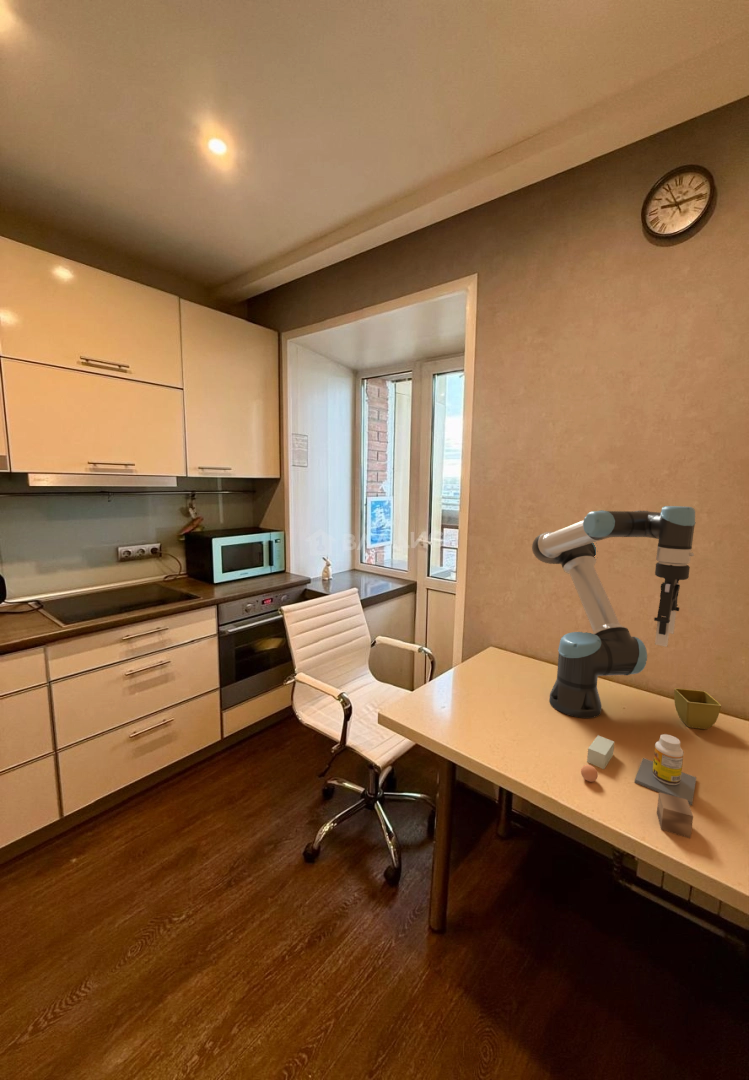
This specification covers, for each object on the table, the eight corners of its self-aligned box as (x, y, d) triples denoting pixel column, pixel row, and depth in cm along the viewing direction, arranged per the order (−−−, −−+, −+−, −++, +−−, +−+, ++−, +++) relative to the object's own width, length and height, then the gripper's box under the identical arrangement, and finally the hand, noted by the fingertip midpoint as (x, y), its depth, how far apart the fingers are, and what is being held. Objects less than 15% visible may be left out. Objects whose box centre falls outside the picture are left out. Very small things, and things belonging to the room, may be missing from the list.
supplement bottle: (653, 767, 105) (657, 729, 104) (681, 777, 101) (685, 738, 100) (650, 779, 101) (654, 739, 100) (678, 790, 97) (683, 749, 96)
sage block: (586, 762, 108) (588, 748, 108) (596, 749, 114) (597, 735, 113) (603, 770, 105) (605, 755, 105) (613, 755, 111) (614, 741, 111)
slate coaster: (634, 782, 101) (634, 779, 101) (642, 760, 109) (643, 757, 109) (691, 805, 94) (692, 802, 93) (695, 780, 102) (696, 777, 102)
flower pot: (718, 734, 121) (722, 705, 120) (684, 730, 123) (688, 701, 122) (702, 718, 130) (705, 690, 129) (670, 715, 132) (673, 687, 130)
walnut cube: (660, 829, 87) (663, 807, 86) (656, 813, 91) (658, 792, 91) (690, 838, 85) (693, 816, 84) (684, 821, 89) (687, 799, 89)
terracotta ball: (578, 780, 101) (579, 766, 101) (582, 772, 104) (583, 759, 103) (594, 787, 99) (596, 773, 98) (598, 779, 102) (600, 765, 101)
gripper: (685, 571, 102) (675, 655, 105) (693, 559, 121) (685, 630, 124) (648, 567, 107) (640, 647, 110) (662, 556, 126) (655, 625, 129)
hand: (664, 638), depth 117 cm, fingers open, 13 cm apart
